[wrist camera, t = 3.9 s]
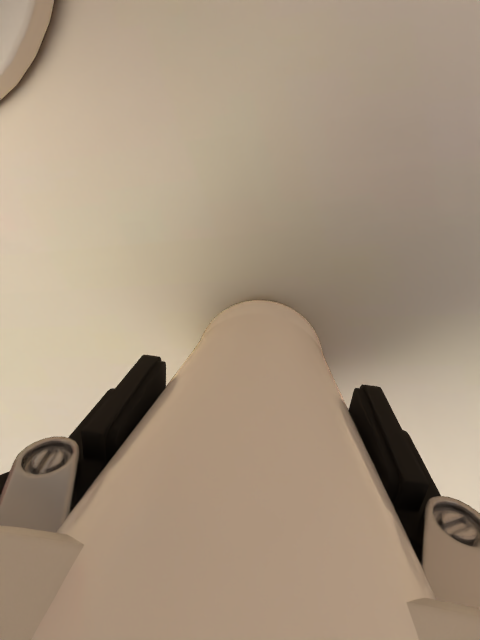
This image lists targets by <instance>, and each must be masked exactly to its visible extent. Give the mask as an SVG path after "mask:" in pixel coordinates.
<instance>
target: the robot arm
mask: <svg viewBox="0 0 480 640" xmlns="http://www.w3.org/2000/svg"><path fill="white" fill-rule="evenodd" d="M53 4H54V0H0V100H1V99H2V98H3V97H4V96H6V95H7V94H8V93H9V92H10V91H11V90H12V89H13V88H14V87H15V86H16V85H17V84H18V83H19V81H20V80H21V78H22V77H23V75H24V74H25V72H26V71H27V69H28V68H29V66H30V65H31V63H32V62H33V60H34V58H35V57H36V55H37V53H38V50H39V47H40V45H41V42H42V40H43V37H44V35H45V32H46V30H47V27H48V25H49V22H50V18H51V13H52V9H53ZM165 387H166V363H165V362H163V361H161V358H160V357H157V356H150V355H143V356H142V357H141V358H140V359H139V360H138V362H137V363H136V364H135V365H134V366H133V368H132V369H131V370H130V371H129V372H128V374H127V375H126V376H125V377H124V379H123V380H122V381H121V382H120V383H119V385H118V386H117V387H116V388H115V389H110V390H109V391H107V393H106V394H105V395H104V396H103V397H102V399H101V400H100V401H99V402H98V403H97V404H96V406H95V407H94V408H93V409H92V410H91V412H90V413H89V414H88V415H87V416H86V417H85V419H84V420H83V421H82V422H81V423H80V424H79V426H78V427H77V428H76V429H75V430H74V432H73V433H72V434H71V435H70V436H69V437H68V438H66V437H50V438H45V439H42V440H39V441H37V442H34V443H32V444H31V445H29V446H27V447H26V448H25V449H23V450H22V451H21V452H20V453H19V454H18V456H17V457H16V459H15V461H14V463H13V465H12V468H11V470H10V472H7V473H4V474H2V475H0V640H31V639H32V637H33V635H34V633H35V632H36V630H37V628H38V626H39V624H40V623H41V621H42V619H43V617H44V616H45V614H46V612H47V610H48V608H49V607H50V605H51V603H52V601H53V600H54V598H55V596H56V594H57V592H58V591H59V589H60V587H61V585H62V583H63V581H64V580H65V578H66V576H67V574H68V572H69V571H70V569H71V567H72V565H73V564H74V562H75V560H76V558H77V557H78V555H79V553H80V552H81V550H82V548H83V546H84V544H82V543H81V542H79V541H78V540H76V539H75V538H73V537H71V536H69V535H67V534H61V533H55V532H56V531H57V530H58V528H59V527H60V525H61V524H62V523H63V521H64V520H65V519H66V517H67V516H68V515H69V513H70V512H71V511H72V509H73V508H74V507H75V505H76V504H77V503H78V501H79V500H80V499H81V497H82V496H83V495H84V493H85V492H86V491H87V489H88V488H89V487H90V485H91V484H92V483H93V482H94V480H95V479H96V478H97V476H98V475H99V474H100V472H101V471H102V470H103V468H104V467H105V466H106V465H107V463H108V462H109V461H110V459H111V458H112V457H113V455H114V454H115V453H116V451H117V450H118V449H119V448H120V446H121V445H122V444H123V442H124V441H125V440H126V438H127V437H128V436H129V434H130V433H131V432H132V431H133V429H134V428H135V427H136V425H137V424H138V423H139V421H140V420H141V419H142V417H143V416H144V415H145V414H146V412H147V411H148V410H149V408H150V407H151V406H152V404H153V403H154V402H155V400H156V399H157V398H158V396H159V395H160V394H161V393H162V391H163V390H164V389H165ZM349 413H350V415H351V417H352V419H353V421H354V423H355V425H356V428H357V430H358V432H359V434H360V436H361V438H362V440H363V442H364V444H365V447H366V449H367V451H368V453H369V455H370V457H371V459H372V461H373V463H374V466H375V468H376V470H377V472H378V474H379V476H380V478H381V480H382V482H383V485H384V487H385V489H386V491H387V493H388V495H389V497H390V499H391V501H392V504H393V506H394V508H395V510H396V512H397V514H398V516H399V518H400V520H401V523H402V525H403V527H404V529H405V531H406V533H407V535H408V538H409V540H410V542H411V544H412V546H413V548H414V551H415V553H416V555H417V557H418V559H419V561H420V564H421V566H422V568H423V570H424V572H425V574H426V577H427V579H428V581H429V583H430V585H431V588H432V590H433V592H434V595H435V597H436V599H437V600H435V599H430V598H421V599H415V600H412V601H409V602H406V603H407V606H408V609H409V612H410V614H411V617H412V620H413V623H414V626H415V629H416V632H417V635H418V639H419V640H480V513H479V512H477V511H476V510H474V509H473V508H472V507H470V506H469V505H467V504H465V503H463V502H461V501H459V500H457V499H453V498H450V497H445V496H441V495H440V493H439V491H438V489H437V487H436V485H435V484H434V482H433V480H432V478H431V476H430V474H429V472H428V470H427V468H426V466H425V464H424V463H423V461H422V459H421V457H420V455H419V453H418V451H417V449H416V447H415V445H414V443H413V442H412V440H411V438H410V436H409V434H408V433H407V432H406V431H404V430H402V428H401V427H400V425H399V423H398V421H397V419H396V417H395V415H394V413H393V411H392V409H391V407H390V405H389V403H388V401H387V399H386V397H385V395H384V393H383V391H382V389H381V388H380V387H377V386H369V385H361V387H360V389H359V388H355V389H354V392H353V396H352V400H351V404H350V407H349Z"/></svg>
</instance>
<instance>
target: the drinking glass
mask: <svg viewBox="0 0 480 640" xmlns="http://www.w3.org/2000/svg"><path fill="white" fill-rule="evenodd" d="M55 533H61V534H67V535H69V536H71V537H73V538H75V539H76V540H78V541H79V542H81V543H82V544H84V546H83V548H82V550H81V552H80V553H79V555H78V557H77V558H76V560H75V562H74V564H73V565H72V567H71V569H70V571H69V572H68V574H67V576H66V578H65V580H64V581H63V583H62V585H61V587H60V589H59V591H58V592H57V594H56V596H55V598H54V600H53V601H52V603H51V605H50V607H49V608H48V610H47V612H46V614H45V616H44V617H43V619H42V621H41V623H40V624H39V626H38V628H37V630H36V632H35V633H34V635H33V637H32V639H31V640H419V639H418V635H417V632H416V629H415V626H414V623H413V620H412V617H411V614H410V612H409V609H408V606H407V603H406V602H409V601H412V600H415V599H421V598H430V599H435V600H437V599H436V597H435V595H434V592H433V590H432V588H431V585H430V583H429V581H428V579H427V577H426V574H425V572H424V570H423V568H422V566H421V564H420V561H419V559H418V557H417V555H416V553H415V551H414V548H413V546H412V544H411V542H410V540H409V538H408V535H407V533H406V531H405V529H404V527H403V525H402V523H401V520H400V518H399V516H398V514H397V512H396V510H395V508H394V506H393V504H392V501H391V499H390V497H389V495H388V493H387V491H386V489H385V487H384V485H383V482H382V480H381V478H380V476H379V474H378V472H377V470H376V468H375V466H374V463H373V461H372V459H371V457H370V455H369V453H368V451H367V449H366V447H365V444H364V442H363V440H362V438H361V436H360V434H359V432H358V430H357V428H356V425H355V423H354V421H353V419H352V417H351V415H350V413H349V410H348V408H347V406H346V404H345V402H344V400H343V398H342V395H341V393H340V391H339V389H338V387H337V385H336V382H335V380H334V378H333V376H332V374H331V371H330V369H329V367H328V365H327V363H326V360H325V358H324V355H323V351H322V347H321V344H320V341H319V339H318V336H317V334H316V332H315V331H314V329H313V328H312V326H311V325H310V324H309V322H308V321H307V320H306V319H305V318H304V317H303V316H302V315H300V314H299V313H298V312H296V311H295V310H293V309H292V308H290V307H288V306H286V305H283V304H280V303H277V302H273V301H267V300H251V301H245V302H241V303H238V304H235V305H233V306H231V307H229V308H227V309H225V310H224V311H222V312H221V313H220V314H218V315H217V316H216V317H215V318H214V319H213V320H212V321H211V323H210V324H209V325H208V327H207V328H206V330H205V331H204V333H203V335H202V337H201V339H200V341H199V343H198V344H197V346H196V347H195V348H194V350H193V351H192V353H191V354H190V355H189V357H188V358H187V359H186V361H185V362H184V363H183V365H182V366H181V367H180V369H179V370H178V371H177V373H176V374H175V375H174V377H173V378H172V379H171V381H170V382H169V383H168V385H167V386H166V387H165V389H164V390H163V391H162V393H161V394H160V395H159V396H158V398H157V399H156V400H155V402H154V403H153V404H152V406H151V407H150V408H149V410H148V411H147V412H146V414H145V415H144V416H143V417H142V419H141V420H140V421H139V423H138V424H137V425H136V427H135V428H134V429H133V431H132V432H131V433H130V434H129V436H128V437H127V438H126V440H125V441H124V442H123V444H122V445H121V446H120V448H119V449H118V450H117V451H116V453H115V454H114V455H113V457H112V458H111V459H110V461H109V462H108V463H107V465H106V466H105V467H104V468H103V470H102V471H101V472H100V474H99V475H98V476H97V478H96V479H95V480H94V482H93V483H92V484H91V485H90V487H89V488H88V489H87V491H86V492H85V493H84V495H83V496H82V497H81V499H80V500H79V501H78V503H77V504H76V505H75V507H74V508H73V509H72V511H71V512H70V513H69V515H68V516H67V517H66V519H65V520H64V521H63V523H62V524H61V525H60V527H59V528H58V530H57V531H56V532H55Z"/></svg>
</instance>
